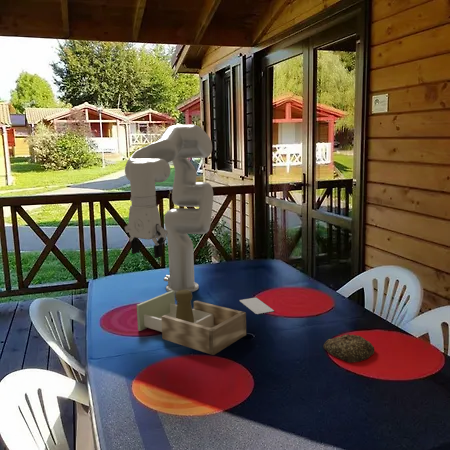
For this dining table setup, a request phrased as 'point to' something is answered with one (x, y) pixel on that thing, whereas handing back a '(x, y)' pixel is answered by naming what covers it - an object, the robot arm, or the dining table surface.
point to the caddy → (206, 329)
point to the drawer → (166, 312)
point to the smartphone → (256, 306)
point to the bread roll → (349, 348)
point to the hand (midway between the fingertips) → (147, 255)
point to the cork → (184, 305)
